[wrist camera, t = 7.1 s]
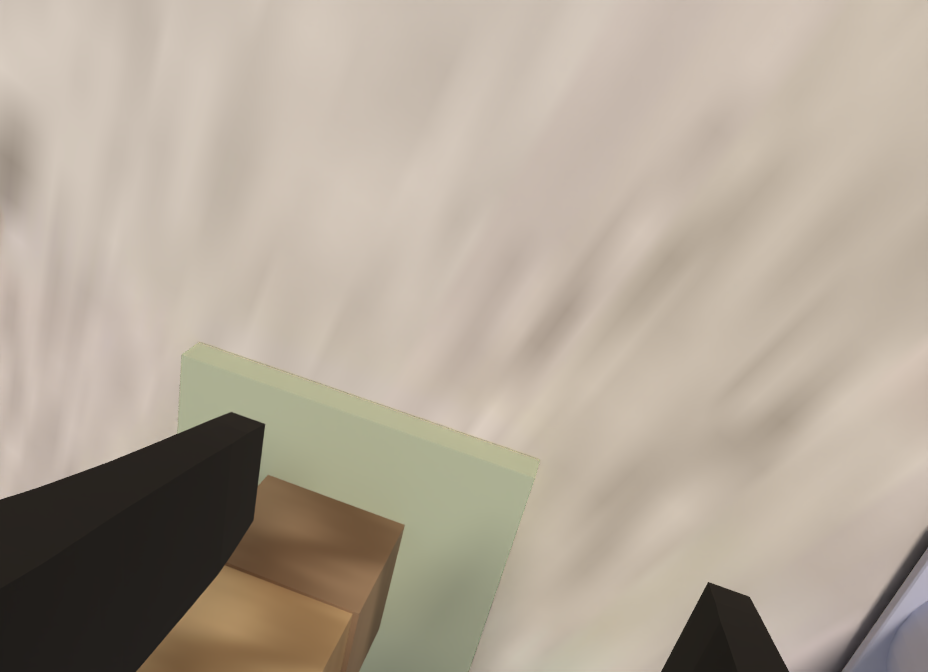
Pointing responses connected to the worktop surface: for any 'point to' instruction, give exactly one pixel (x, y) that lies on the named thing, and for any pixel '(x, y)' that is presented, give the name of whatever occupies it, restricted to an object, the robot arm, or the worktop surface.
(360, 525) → the walnut block
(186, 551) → the robot arm
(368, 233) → the worktop surface
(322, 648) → the oak block
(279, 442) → the build board
